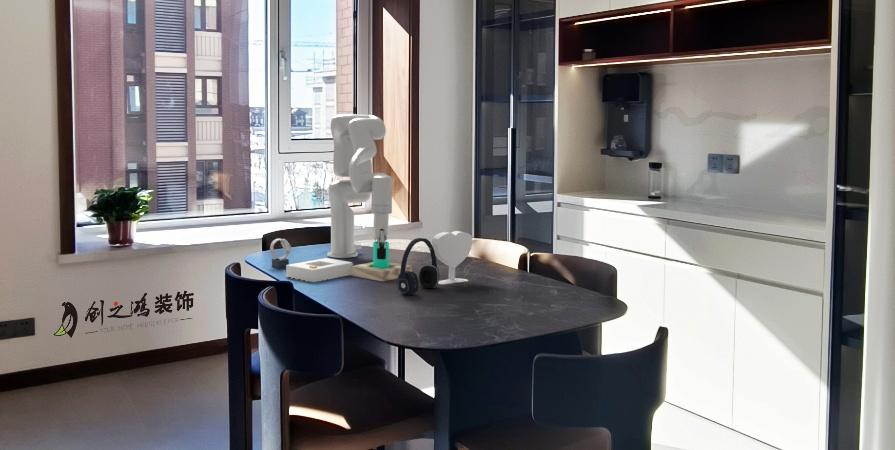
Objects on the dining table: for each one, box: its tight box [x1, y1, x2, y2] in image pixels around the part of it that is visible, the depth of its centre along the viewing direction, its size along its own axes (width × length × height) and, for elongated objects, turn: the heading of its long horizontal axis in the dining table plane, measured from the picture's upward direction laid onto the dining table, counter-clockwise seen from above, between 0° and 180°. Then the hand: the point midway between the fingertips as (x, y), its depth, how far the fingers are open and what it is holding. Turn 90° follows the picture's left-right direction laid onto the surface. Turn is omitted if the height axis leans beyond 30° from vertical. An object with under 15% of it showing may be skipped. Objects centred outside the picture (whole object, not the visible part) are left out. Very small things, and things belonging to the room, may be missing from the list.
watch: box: [269, 238, 292, 269], centre depth 336 cm, size 6×8×11 cm
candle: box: [372, 240, 390, 269], centre depth 323 cm, size 6×6×12 cm
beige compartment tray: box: [350, 261, 413, 282], centre depth 323 cm, size 16×16×4 cm
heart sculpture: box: [431, 230, 473, 285], centre depth 313 cm, size 16×5×18 cm, turn 127°
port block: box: [285, 257, 354, 283], centre depth 320 cm, size 20×14×5 cm
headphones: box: [397, 237, 440, 296], centre depth 296 cm, size 20×7×18 cm, turn 149°
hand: (381, 257), depth 323 cm, fingers closed on candle, 4 cm apart
